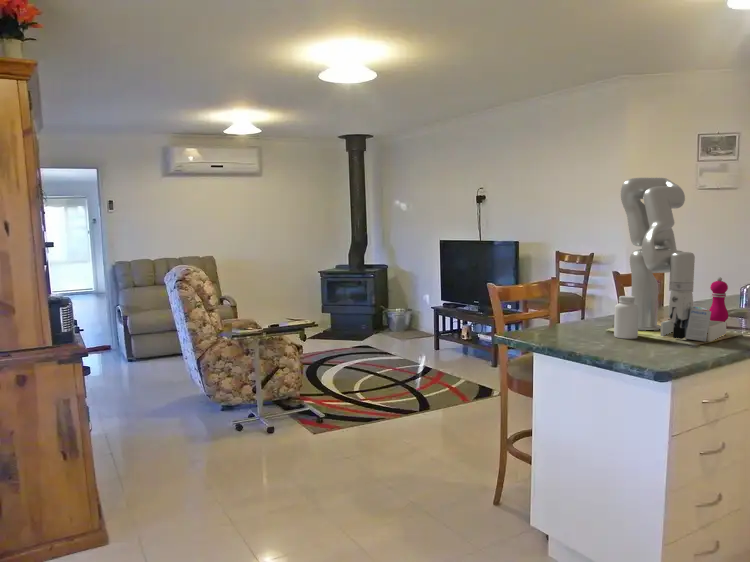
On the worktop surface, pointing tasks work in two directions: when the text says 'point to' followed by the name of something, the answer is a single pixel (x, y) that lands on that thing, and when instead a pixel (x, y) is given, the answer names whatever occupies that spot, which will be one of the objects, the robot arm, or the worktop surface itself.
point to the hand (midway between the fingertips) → (678, 338)
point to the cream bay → (714, 329)
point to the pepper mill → (718, 301)
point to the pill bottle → (626, 318)
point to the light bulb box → (697, 324)
